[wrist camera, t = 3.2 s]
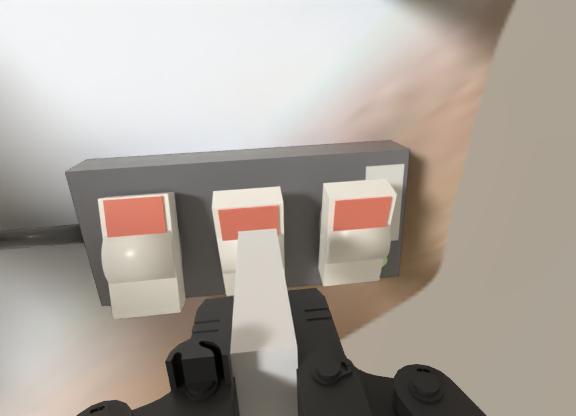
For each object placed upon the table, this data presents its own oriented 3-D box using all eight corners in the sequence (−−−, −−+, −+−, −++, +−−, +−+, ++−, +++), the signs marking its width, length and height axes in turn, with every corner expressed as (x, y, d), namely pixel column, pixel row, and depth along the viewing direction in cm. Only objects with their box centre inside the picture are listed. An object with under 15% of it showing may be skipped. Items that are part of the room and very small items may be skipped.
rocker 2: (226, 266, 24) (226, 305, 21) (214, 182, 20) (211, 217, 17) (280, 261, 24) (286, 299, 21) (278, 177, 20) (284, 211, 18)
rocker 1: (128, 302, 22) (107, 324, 19) (115, 195, 21) (91, 199, 18) (188, 296, 22) (178, 317, 19) (177, 191, 21) (164, 194, 18)
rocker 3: (315, 258, 24) (325, 295, 22) (320, 174, 20) (332, 207, 18) (367, 253, 25) (382, 289, 22) (381, 170, 21) (401, 201, 18)
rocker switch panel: (14, 290, 25) (-17, 319, 22) (-33, 166, 22) (-76, 181, 19) (383, 255, 28) (400, 277, 25) (390, 140, 25) (411, 149, 22)
